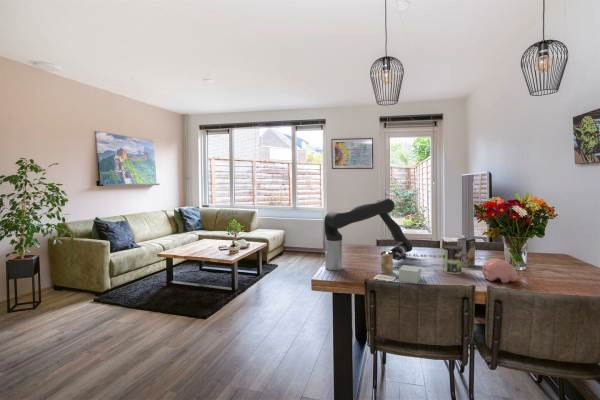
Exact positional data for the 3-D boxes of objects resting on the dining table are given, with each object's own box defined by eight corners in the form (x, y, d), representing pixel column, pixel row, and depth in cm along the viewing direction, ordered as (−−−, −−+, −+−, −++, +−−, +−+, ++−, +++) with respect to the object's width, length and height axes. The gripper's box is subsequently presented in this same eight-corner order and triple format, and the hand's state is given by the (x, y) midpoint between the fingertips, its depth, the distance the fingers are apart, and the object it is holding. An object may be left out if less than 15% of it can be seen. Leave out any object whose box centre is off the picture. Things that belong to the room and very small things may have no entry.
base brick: (398, 280, 166) (398, 269, 166) (403, 276, 174) (403, 265, 174) (417, 283, 162) (417, 271, 161) (420, 278, 169) (420, 267, 169)
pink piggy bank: (504, 285, 170) (515, 264, 168) (515, 293, 157) (527, 271, 156) (474, 272, 172) (485, 251, 171) (483, 279, 160) (494, 257, 158)
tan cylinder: (381, 272, 180) (381, 255, 179) (383, 270, 184) (383, 253, 184) (390, 274, 178) (390, 256, 177) (392, 271, 182) (392, 254, 181)
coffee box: (467, 267, 188) (467, 240, 187) (456, 265, 194) (457, 238, 192) (475, 265, 194) (475, 238, 192) (464, 262, 199) (465, 237, 198)
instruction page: (373, 278, 170) (373, 278, 170) (377, 274, 177) (377, 274, 177) (392, 281, 165) (392, 281, 165) (396, 277, 171) (396, 276, 171)
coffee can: (465, 271, 180) (465, 246, 179) (455, 275, 174) (456, 249, 173) (447, 267, 188) (447, 244, 187) (437, 271, 182) (438, 246, 181)
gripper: (386, 245, 204) (378, 250, 190) (409, 247, 197) (403, 253, 183) (386, 257, 205) (378, 262, 191) (409, 259, 197) (402, 266, 184)
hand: (390, 258), depth 187 cm, fingers open, 8 cm apart
